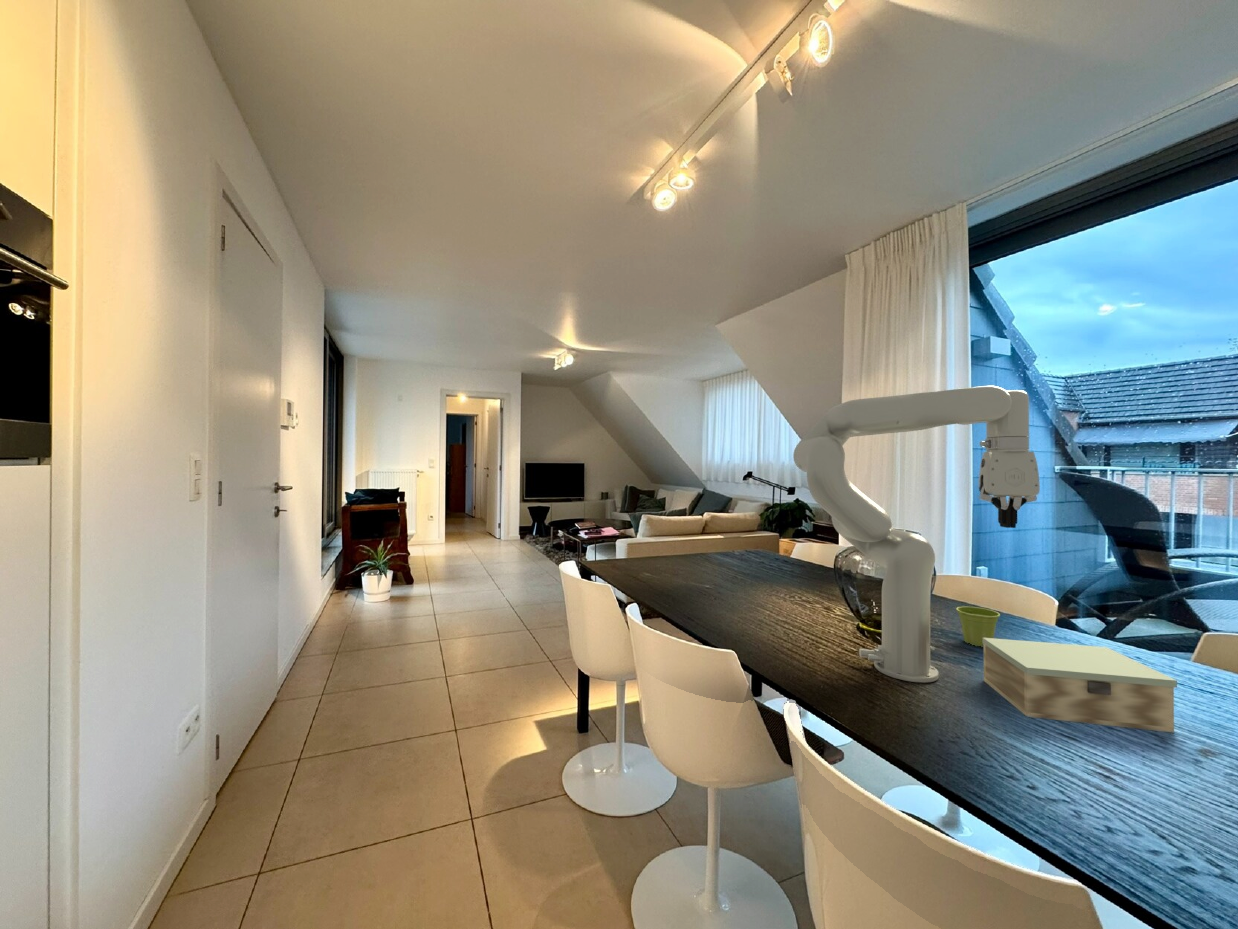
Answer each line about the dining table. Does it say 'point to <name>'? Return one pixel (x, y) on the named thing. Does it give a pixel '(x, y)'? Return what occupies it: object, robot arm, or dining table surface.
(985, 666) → the crate
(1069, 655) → the lid
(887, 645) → the robot arm
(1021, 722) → the dining table surface
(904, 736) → the dining table surface
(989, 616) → the plant pot
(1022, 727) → the dining table surface
